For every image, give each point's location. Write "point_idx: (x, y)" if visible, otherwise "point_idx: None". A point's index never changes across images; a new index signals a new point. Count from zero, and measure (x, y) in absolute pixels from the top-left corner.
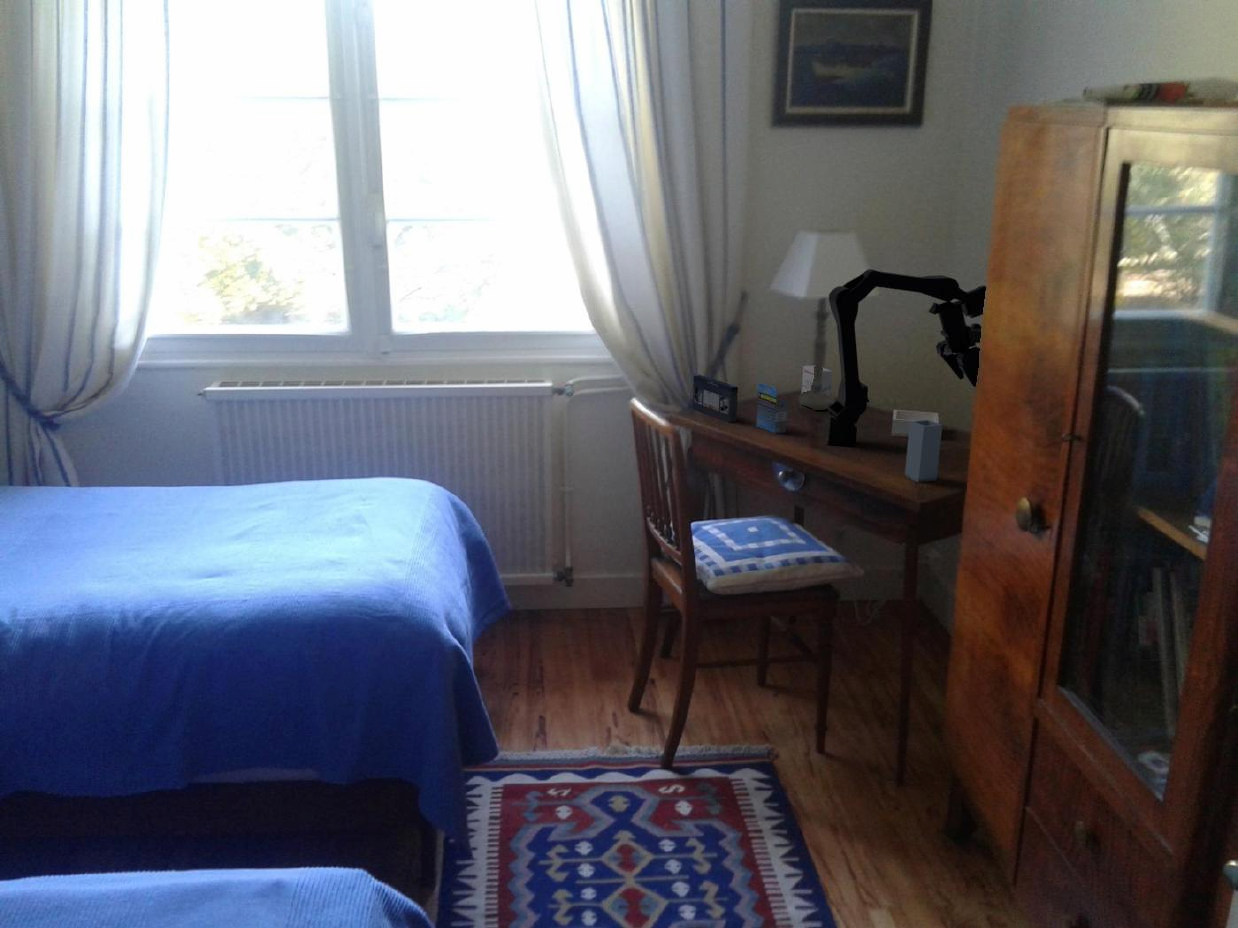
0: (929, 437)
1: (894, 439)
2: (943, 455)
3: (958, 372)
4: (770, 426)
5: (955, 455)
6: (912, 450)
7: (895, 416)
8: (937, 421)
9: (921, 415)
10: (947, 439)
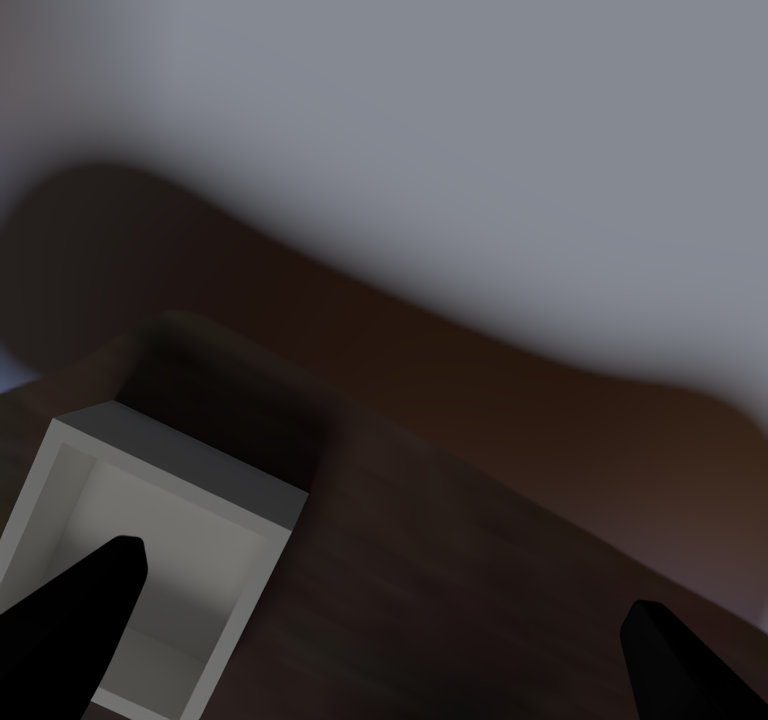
0: None
1: (285, 684)
2: (571, 594)
3: (75, 684)
4: None
5: (580, 542)
6: None
7: (121, 702)
8: (255, 522)
9: (47, 502)
10: (311, 442)
